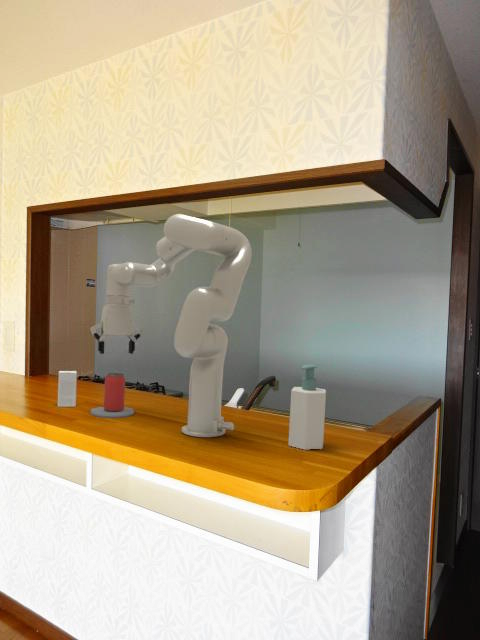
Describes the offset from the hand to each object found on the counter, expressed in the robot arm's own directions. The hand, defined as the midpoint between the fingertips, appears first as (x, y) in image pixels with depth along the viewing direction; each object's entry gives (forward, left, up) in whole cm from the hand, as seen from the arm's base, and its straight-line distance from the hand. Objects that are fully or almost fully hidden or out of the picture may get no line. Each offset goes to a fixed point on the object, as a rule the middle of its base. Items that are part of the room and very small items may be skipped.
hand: (116, 353), depth 163 cm
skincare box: (+20, -3, -20) cm, 29 cm away
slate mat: (0, 0, -20) cm, 20 cm away
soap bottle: (-66, +10, -20) cm, 69 cm away
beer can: (0, 0, -19) cm, 19 cm away
